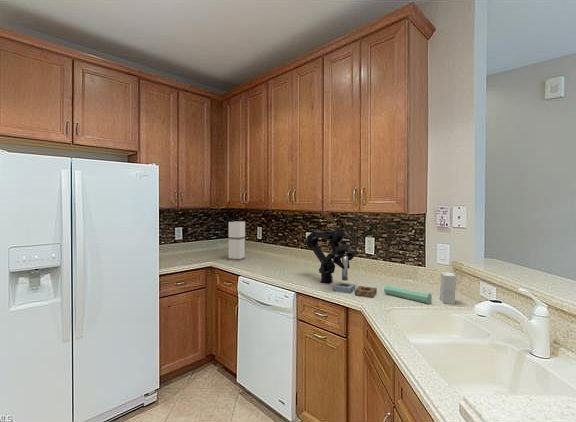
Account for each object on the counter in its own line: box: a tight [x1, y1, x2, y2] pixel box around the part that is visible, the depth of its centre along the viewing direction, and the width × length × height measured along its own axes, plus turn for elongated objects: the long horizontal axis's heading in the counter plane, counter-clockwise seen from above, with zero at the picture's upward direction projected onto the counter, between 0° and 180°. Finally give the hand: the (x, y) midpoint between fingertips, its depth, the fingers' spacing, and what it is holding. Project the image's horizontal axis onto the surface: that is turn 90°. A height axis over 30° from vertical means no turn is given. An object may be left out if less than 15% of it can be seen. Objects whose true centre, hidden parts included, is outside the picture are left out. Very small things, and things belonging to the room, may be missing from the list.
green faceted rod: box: [383, 285, 433, 305], centre depth 163 cm, size 6×6×25 cm
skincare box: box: [439, 271, 457, 305], centre depth 158 cm, size 8×6×15 cm
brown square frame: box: [354, 285, 378, 299], centre depth 170 cm, size 10×10×3 cm
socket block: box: [333, 281, 356, 295], centre depth 178 cm, size 10×10×3 cm
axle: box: [341, 256, 349, 281], centre depth 177 cm, size 3×3×14 cm
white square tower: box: [228, 220, 246, 262], centre depth 275 cm, size 11×11×35 cm
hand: (346, 268), depth 176 cm, fingers closed on axle, 3 cm apart
